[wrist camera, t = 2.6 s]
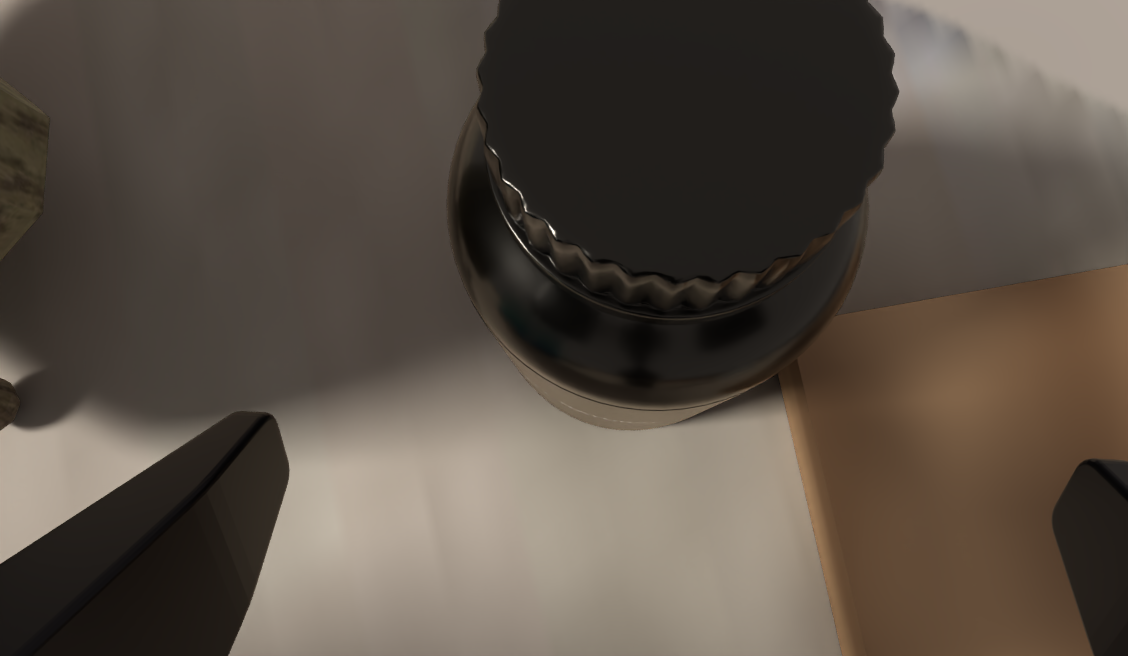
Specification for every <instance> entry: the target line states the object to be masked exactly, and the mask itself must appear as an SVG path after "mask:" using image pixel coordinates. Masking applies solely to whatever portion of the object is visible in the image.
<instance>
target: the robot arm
mask: <svg viewBox="0 0 1128 656" xmlns="http://www.w3.org/2000/svg"><path fill="white" fill-rule="evenodd" d="M288 480H289V462H288V458H287V455H286V452H285V448H284V445H283V441H282V438H281V434H280V431H279V427H278V424H277V421H276V419H275V418H274V417H273V415H271V414H269V413H266V412H248V411H239V412H235V413H232V414H231V415H229V416H227V417H226V418H224V419H223V420H221V421H220V422H218V423H216V424H215V425H213V426H212V427H210V428H209V429H207V430H206V431H204V432H203V433H201V434H200V435H198V436H196V437H195V438H193V439H192V440H190V441H189V442H187V443H186V444H184V445H183V446H181V447H180V448H178V449H176V450H175V451H173V452H172V453H170V454H169V455H167V456H166V457H164V458H163V459H161V460H160V461H158V462H156V463H155V464H153V465H152V466H150V467H149V468H147V469H146V470H144V471H143V472H141V473H140V474H138V475H136V476H135V477H133V478H132V479H130V480H129V481H127V482H126V483H124V484H123V485H121V486H120V487H118V488H116V489H115V490H113V491H112V492H110V493H109V494H107V495H106V496H104V497H103V498H101V499H100V500H98V501H96V502H95V503H93V504H92V505H90V506H89V507H87V508H86V509H84V510H83V511H81V512H80V513H78V514H76V515H75V516H73V517H72V518H70V519H69V520H67V521H66V522H64V523H63V524H61V525H60V526H58V527H57V528H55V529H53V530H52V531H50V532H49V533H47V534H46V535H44V536H43V537H41V538H40V539H38V540H37V541H35V542H33V543H32V544H30V545H29V546H27V547H26V548H24V549H23V550H21V551H20V552H18V553H17V554H15V555H13V556H12V557H10V558H9V559H7V560H6V561H4V562H3V563H1V564H0V656H228V655H229V652H230V650H231V648H232V646H233V643H234V641H235V639H236V636H237V634H238V632H239V629H240V627H241V625H242V622H243V620H244V617H245V615H246V612H247V610H248V608H249V605H250V602H251V600H252V597H253V594H254V591H255V588H256V585H257V582H258V578H259V575H260V572H261V569H262V565H263V562H264V559H265V556H266V553H267V549H268V546H269V543H270V540H271V536H272V533H273V530H274V527H275V523H276V520H277V517H278V514H279V510H280V507H281V504H282V501H283V497H284V494H285V491H286V488H287V484H288ZM1052 529H1053V533H1054V536H1055V539H1056V543H1057V546H1058V549H1059V552H1060V555H1061V558H1062V561H1063V564H1064V567H1065V570H1066V574H1067V577H1068V580H1069V583H1070V586H1071V589H1072V592H1073V595H1074V598H1075V601H1076V605H1077V608H1078V611H1079V614H1080V617H1081V620H1082V623H1083V626H1084V629H1085V632H1086V636H1087V639H1088V642H1089V644H1090V647H1091V650H1092V653H1093V655H1094V656H1128V461H1125V460H1116V459H1098V458H1090V459H1086V460H1084V461H1083V462H1081V463H1080V464H1079V465H1078V466H1077V467H1076V469H1075V471H1074V473H1073V474H1072V476H1071V478H1070V480H1069V481H1068V483H1067V485H1066V487H1065V488H1064V490H1063V492H1062V494H1061V496H1060V497H1059V499H1058V501H1057V503H1056V504H1055V506H1054V509H1053V513H1052Z"/></svg>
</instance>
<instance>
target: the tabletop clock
mask: <svg viewBox="0 0 1128 656" xmlns="http://www.w3.org/2000/svg"><path fill="white" fill-rule="evenodd" d="M49 122H50V118H49V117H48V116H47V115H46V114H45V113H43V112H42V111H41V110H40V109H39V108H38V107H37V106H35V105H34V104H33V103H32V102H31V101H29V100H28V99H27V98H26V97H24V96H23V95H22V94H21V93H19V92H18V91H17V90H15V89H14V88H13V87H12V86H10V85H9V84H8V83H6V82H5V81H4V80H3V79H1V78H0V261H1V260H2V259H3V258H4V257H5V255H6V254H7V253H8V252H9V251H10V250H11V249H12V247H13V246H14V245H15V244H16V243H17V242H18V241H19V240H20V238H21V237H22V236H23V235H24V234H25V233H26V232H27V230H28V229H29V228H30V227H31V226H32V225H33V224H34V222H35V221H36V220H37V219H38V218H39V217H40V216H41V214H42V213H43V202H44V189H45V175H46V162H47V148H48V135H49ZM19 405H20V400H19V398H18V396H17V394H16V392H15V390H14V388H13V386H12V384H11V383H10V382H8V381H6V380H3V379H1V378H0V430H2V429H3V428H4V427H6V426H7V425H8V424H10V423H11V422H12V421H14V418H15V416H16V413H17V411H18V408H19Z"/></svg>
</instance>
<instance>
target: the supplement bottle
mask: <svg viewBox="0 0 1128 656" xmlns="http://www.w3.org/2000/svg"><path fill="white" fill-rule="evenodd" d="M484 48H485V54H484V56H483V58H482V59H481V61H480V63H479V65H478V67H477V70H476V78H477V82H478V86H479V90H480V93H481V94H480V96H479V98H478V100H477V101H476V103H475V105H474V106H473V108H472V109H471V111H470V113H469V115H468V117H467V119H466V121H465V123H464V125H463V128H462V130H461V133H460V136H459V138H458V141H457V144H456V147H455V151H454V155H453V158H452V162H451V168H450V174H449V180H448V190H447V223H448V230H449V237H450V243H451V247H452V251H453V255H454V259H455V262H456V265H457V268H458V271H459V273H460V276H461V279H462V281H463V284H464V286H465V289H466V291H467V293H468V295H469V297H470V299H471V301H472V303H473V305H474V307H475V308H476V310H477V312H478V313H479V315H480V316H481V318H482V320H483V321H484V323H485V324H486V326H487V327H488V329H489V330H490V331H491V333H492V334H493V336H494V337H495V338H496V340H497V341H498V343H499V344H500V345H501V347H502V348H503V350H504V351H505V352H506V354H507V355H508V357H509V358H510V359H511V361H512V362H513V363H514V365H515V366H516V368H517V369H518V370H519V372H520V373H521V374H522V376H523V377H524V378H525V380H526V381H527V382H528V383H529V384H530V385H531V386H532V387H533V388H534V389H535V390H536V391H537V392H538V394H540V395H541V396H542V397H543V398H544V399H545V400H546V401H548V402H549V403H550V404H552V405H553V406H554V407H556V408H557V409H559V410H560V411H562V412H564V413H566V414H567V415H569V416H571V417H573V418H576V419H578V420H580V421H582V422H585V423H588V424H591V425H594V426H598V427H603V428H607V429H615V430H633V431H634V430H647V429H653V428H658V427H663V426H666V425H670V424H673V423H677V422H679V421H682V420H684V419H687V418H689V417H692V416H694V415H696V414H698V413H701V412H703V411H705V410H707V409H709V408H712V407H714V406H716V405H718V404H720V403H723V402H725V401H727V400H729V399H731V398H734V397H736V396H738V395H740V394H742V393H744V392H746V391H748V390H750V389H752V388H754V387H756V386H758V385H760V384H762V383H763V382H765V381H766V380H768V379H770V378H771V377H773V376H774V375H776V374H777V373H779V372H780V371H781V370H783V369H784V368H785V367H787V366H788V365H789V364H790V363H792V362H793V361H794V360H795V359H797V358H798V357H799V356H800V355H802V354H803V353H804V352H805V351H806V350H807V349H808V348H809V347H810V346H811V345H812V344H813V343H814V342H815V341H816V340H817V339H818V338H819V336H820V335H821V334H822V333H823V332H824V330H825V329H826V328H827V327H828V325H829V324H830V323H831V321H832V320H833V318H834V317H835V315H836V314H837V312H838V311H839V309H840V308H841V306H842V304H843V302H844V300H845V298H846V297H847V295H848V293H849V291H850V289H851V287H852V284H853V281H854V279H855V276H856V274H857V271H858V268H859V266H860V262H861V258H862V254H863V251H864V247H865V241H866V235H867V228H868V211H869V203H868V186H870V185H871V184H872V183H873V182H874V181H875V179H876V178H877V177H878V176H879V175H880V174H881V172H882V169H883V163H884V148H885V147H886V146H887V144H888V143H889V141H890V140H891V138H892V137H893V135H894V133H895V123H894V119H893V115H892V108H893V106H894V104H895V102H896V100H897V97H898V95H899V89H898V87H897V84H896V81H895V80H894V78H893V75H892V68H893V64H894V57H895V53H894V51H893V50H892V48H891V46H890V45H889V44H888V43H887V41H886V39H885V38H884V26H883V17H882V16H881V15H880V14H879V13H878V11H877V10H876V9H875V8H874V7H873V6H872V5H871V4H870V3H869V2H868V0H499V4H498V13H497V17H496V18H495V19H494V21H493V22H492V23H491V24H490V25H489V27H488V28H487V30H486V31H485V32H484Z"/></svg>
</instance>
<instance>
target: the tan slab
mask: <svg viewBox="0 0 1128 656" xmlns="http://www.w3.org/2000/svg"><path fill="white" fill-rule="evenodd" d="M778 377H779V381H780V385H781V390H782V394H783V399H784V403H785V407H786V412H787V416H788V420H789V425H790V429H791V433H792V438H793V442H794V447H795V451H796V455H797V460H798V464H799V468H800V473H801V477H802V481H803V486H804V490H805V495H806V499H807V503H808V508H809V512H810V516H811V521H812V525H813V529H814V534H815V538H816V543H817V547H818V551H819V556H820V560H821V564H822V569H823V573H824V577H825V582H826V586H827V591H828V595H829V599H830V604H831V608H832V612H833V617H834V621H835V625H836V630H837V634H838V639H839V643H840V647H841V652H842V656H1094V655H1093V653H1092V650H1091V647H1090V644H1089V642H1088V639H1087V636H1086V632H1085V629H1084V626H1083V623H1082V620H1081V617H1080V614H1079V611H1078V608H1077V605H1076V601H1075V598H1074V595H1073V592H1072V589H1071V586H1070V583H1069V580H1068V577H1067V574H1066V570H1065V567H1064V564H1063V561H1062V558H1061V555H1060V552H1059V549H1058V546H1057V543H1056V539H1055V536H1054V533H1053V529H1052V513H1053V509H1054V506H1055V504H1056V503H1057V501H1058V499H1059V497H1060V496H1061V494H1062V492H1063V490H1064V488H1065V487H1066V485H1067V483H1068V481H1069V480H1070V478H1071V476H1072V474H1073V473H1074V471H1075V469H1076V467H1077V466H1078V465H1079V464H1080V463H1081V462H1083V461H1084V460H1086V459H1090V458H1098V459H1116V460H1125V461H1128V264H1126V265H1120V266H1115V267H1109V268H1103V269H1097V270H1092V271H1086V272H1080V273H1075V274H1069V275H1063V276H1058V277H1052V278H1046V279H1041V280H1035V281H1029V282H1023V283H1018V284H1012V285H1006V286H1001V287H995V288H989V289H984V290H978V291H972V292H967V293H961V294H955V295H950V296H944V297H938V298H932V299H927V300H921V301H915V302H910V303H904V304H898V305H893V306H887V307H881V308H876V309H870V310H864V311H858V312H853V313H847V314H841V315H836V316H835V317H834V318H833V320H832V321H831V323H830V324H829V325H828V327H827V328H826V329H825V330H824V332H823V333H822V334H821V335H820V336H819V338H818V339H817V340H816V341H815V342H814V343H813V344H812V345H811V346H810V347H809V348H808V349H807V350H806V351H805V352H804V353H803V354H802V355H800V356H799V357H798V358H797V359H795V360H794V361H793V362H792V363H790V364H789V365H788V366H787V367H785V368H784V369H783V370H781V371H780V372H779V373H778Z"/></svg>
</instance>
